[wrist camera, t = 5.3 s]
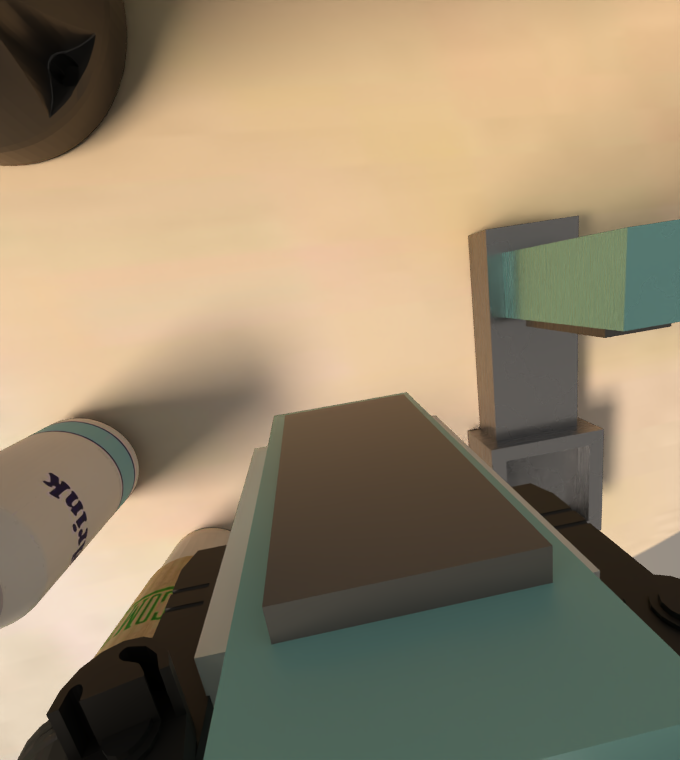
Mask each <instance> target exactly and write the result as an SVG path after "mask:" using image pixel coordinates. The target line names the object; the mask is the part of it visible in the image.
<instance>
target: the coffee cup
mask: <svg viewBox="0 0 680 760" xmlns="http://www.w3.org/2000/svg"><path fill="white" fill-rule="evenodd" d="M230 532H231V531H229V530H225V529H221V528H204V529H200V530H197V531H194V532H192V533H190V534H188V535H187V536H186V537H184V538H183V539H182V540H181V541H180V542H179V543H178V544H177V546H176V547H175V549H174V550H173V551H172V553H171V554H170V556H169V557H168V559H167V560H166V561H165V563H164V564H163V566H162V567H161V568H160V569H159V570H158V571H157V572H156V573H155V574H154V575H153V576H152V578H151V579H150V580H149V582H148V583H147V584H146V586H145V587H144V589H143V590H142V591H141V593H140V594H139V596H138V597H137V598H136V600H135V601H134V603H133V604H132V605H131V607H130V608H129V610H128V611H127V612H126V614H125V615H124V617H123V618H122V619H121V621H120V622H119V623H118V625H117V626H116V628H115V629H114V630H113V632H112V633H111V635H110V636H109V637H108V639H107V640H106V642H105V643H104V644H103V646H102V647H101V649H100V650H99V651H98V653H97V654H96V656H97V655H99V654H100V653H101V652H103V651H105V650H107V649H109V648H111V647H113V646H115V645H117V644H119V643H121V642H123V641H125V640H130V639H134V638H139V637H149V638H152V637H153V635H154V633H155V630H156V628H157V626H158V623H159V621H160V619H161V616H162V614H163V613H165V607H166V605H167V602H168V600H169V598H170V595H172V594H173V588H174V586H175V583H176V581H177V579H178V576H179V574H180V572H181V569H182V568H183V567H184V566H185V565H186V564H187V563H188V561H189V560H190V559H191V558H192V557H193V556H194V555H195V553H196V552H197V551H198V550H203V549H208V548H213V547H218V546H223V545H227V543H228V539H229V536H230ZM96 656H95V657H96ZM95 657H94V658H95ZM18 760H68V758H67V756H66V754H65V752H64V750H63V748H62V746H61V744H60V742H59V740H58V738H57V735H56V733H55V731H54V729H53V727H52V725H51V723H50V721H49V720H48V721H47V722H46V723H44V724H43V725H42V726H41V727H40V728H39V729H38V730H37V731H36V732H35V733H34V734H33V735H32V737H31V738H30V739H29V740H28V741H27V743H26V745H25V746H24V748H23V750H22V752H21V754H20V756H19V758H18Z"/></svg>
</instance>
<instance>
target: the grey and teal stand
mask: <svg viewBox="0 0 680 760" xmlns="http://www.w3.org/2000/svg"><path fill="white" fill-rule="evenodd" d="M578 227H579V216H573V217H567V218H560V219H553V220H547V221H540V222H534V223H527V224H520V225H514V226H507V227H501V228H494V229H487V230H483V231H481V232H478V233H475V234H472V235H469V236H468V240H469V256H470V272H471V288H472V304H473V320H474V336H475V352H476V368H477V384H478V400H479V416H480V429H476V430H470V431H468V442H469V448H471V449H472V450H473V451H474V452H475V453H476V454H477V455H478V456H479V457H480V458H481V459H482V460H483V461H484V462H485V463H486V464H487V465H488V466H490V467H491V468H492V469H493V470H494V471H495V472H496V473H497V474H498V475H499V476H500V477H501V478H502V479H503V480H504V481H505V482H506V483H508V484H509V485H510V486H511V487H514V486H519V485H524V484H529V483H531V484H534V485H536V486H538V487H540V488H543V489H545V490H547V491H549V492H552V493H554V494H555V495H556V496H557V497H559V498H560V499H561V500H562V501H563V502H565V503H566V504H567V505H568V506H570V507H571V509H572V511H574V510H575V511H576V512H577V513H578V514H580V515H581V516H582V517H583V518H584V519H586V522H587V523H591V524H592V525H593V526H594V527H596V528H597V529H598V530H601V518H602V480H603V441H604V429H602V428H600V427H598V426H596V425H593V424H591V423H589V422H587V421H584V420H582V419H580V418H578V417H577V372H578V334H582V335H589V336H596V337H603V338H607V337H612V336H618V335H624V334H630V333H636V332H641V331H647V330H653V329H659V328H664V327H670V326H671V323H675V322H680V219H679V220H673V221H666V222H660V223H653V224H647V225H640V226H634V227H627V228H623V229H618V230H613V231H608V232H603V233H598V234H593V235H588V236H583V237H578Z"/></svg>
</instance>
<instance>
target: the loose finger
mask: <svg viewBox="0 0 680 760" xmlns="http://www.w3.org/2000/svg"><path fill="white" fill-rule="evenodd" d="M203 760H680V656H679V655H678V654H677V653H676V652H675V651H674V650H673V649H672V648H671V647H670V646H668V645H667V644H666V643H665V642H664V641H663V640H662V639H661V638H660V637H659V636H658V635H657V634H656V633H655V632H654V631H653V630H652V629H651V628H650V627H649V626H648V625H647V624H646V623H645V622H644V621H643V620H642V619H641V618H640V617H638V616H637V615H636V614H635V613H634V612H633V611H632V610H631V609H630V608H629V607H628V606H627V605H626V604H625V603H624V602H623V601H622V600H621V599H620V598H619V597H618V596H617V595H616V594H615V593H614V592H613V591H612V590H611V589H610V588H608V587H607V586H606V585H605V584H604V583H603V582H602V581H601V580H600V579H599V578H598V577H597V576H596V575H595V574H594V573H593V572H592V571H591V570H590V569H589V568H588V567H587V566H586V565H585V564H584V563H583V562H582V561H581V560H580V559H578V558H577V557H576V556H575V555H574V554H573V553H572V552H571V551H570V550H569V549H568V548H567V547H566V546H565V545H564V544H563V543H562V542H561V541H560V540H559V539H558V538H557V537H556V536H555V535H554V534H553V533H552V532H551V531H550V530H548V529H547V528H546V527H545V526H544V525H543V524H542V523H541V522H540V521H539V520H538V519H537V518H536V517H535V516H534V515H533V514H532V513H531V512H530V511H529V510H528V509H527V508H526V507H525V506H524V505H523V504H522V503H521V502H520V501H518V500H517V499H516V498H515V497H514V496H513V495H512V494H511V493H510V492H509V491H508V490H507V489H506V488H505V487H504V486H503V485H502V484H501V483H500V482H499V481H498V480H497V479H496V478H495V477H494V476H493V475H492V474H491V473H490V472H488V471H487V470H486V469H485V468H484V467H483V466H482V465H481V464H480V463H479V462H478V461H477V460H476V459H475V458H474V457H473V456H472V455H471V454H470V453H469V452H468V451H467V450H466V449H465V448H464V447H463V446H462V445H461V444H460V443H458V442H457V441H456V440H455V439H454V438H453V437H452V436H451V435H450V434H449V433H448V432H447V431H446V430H445V429H444V428H443V427H442V426H441V425H440V424H439V423H438V422H437V421H436V420H435V419H434V418H433V417H432V416H431V415H430V414H428V413H427V412H426V411H425V410H424V409H423V408H422V407H421V406H420V405H419V404H418V403H417V402H416V401H415V400H414V399H413V398H412V397H411V396H410V395H409V394H408V393H407V392H406V393H400V394H395V395H389V396H384V397H378V398H372V399H367V400H361V401H356V402H350V403H344V404H339V405H333V406H328V407H322V408H316V409H311V410H305V411H300V412H294V413H288V414H283V415H277V416H274V419H273V424H272V428H271V433H270V438H269V443H268V448H267V453H266V458H265V462H264V467H263V472H262V477H261V482H260V487H259V492H258V496H257V501H256V506H255V511H254V516H253V521H252V525H251V530H250V535H249V540H248V545H247V550H246V555H245V559H244V564H243V569H242V574H241V579H240V584H239V589H238V593H237V598H236V603H235V608H234V613H233V618H232V622H231V627H230V632H229V637H228V642H227V647H226V652H225V656H224V661H223V666H222V671H221V676H220V681H219V686H218V690H217V695H216V700H215V705H214V710H213V715H212V719H211V724H210V729H209V734H208V739H207V744H206V749H205V753H204V758H203Z"/></svg>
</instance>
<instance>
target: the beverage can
mask: <svg viewBox="0 0 680 760" xmlns="http://www.w3.org/2000/svg"><path fill="white" fill-rule="evenodd" d="M138 476H139V464H138V459H137V456H136V454H135V451H134V449H133V448H132V446H131V445H130V443H129V442H128V441H127V439H126V438H125V437H124V436H123V435H122V434H120V433H119V432H118V431H117V430H115V429H114V428H112V427H110V426H108V425H106V424H104V423H101V422H99V421H95V420H91V419H83V418H73V419H66V420H62V421H58V422H56V423H54V424H51V425H50V426H48V427H46V428H44V429H42V430H40V431H38V432H36V433H34V434H32V435H30V436H28V437H26V438H25V439H23V440H21V441H19V442H17V443H15V444H13V445H11V446H9V447H7V448H5V449H3V450H2V451H0V629H1V628H3V627H5V626H8V625H10V624H12V623H14V622H15V621H17V620H19V619H20V618H22V617H23V616H25V615H26V614H27V613H28V612H29V611H31V610H32V609H33V608H34V607H35V606H36V605H37V603H38V602H39V601H40V600H41V599H42V597H43V596H44V595H45V594H46V593H47V592H48V590H49V589H50V588H51V587H52V586H53V585H54V583H55V582H56V581H57V580H58V579H59V578H60V576H61V575H62V574H63V573H64V572H65V571H66V569H67V568H68V567H69V566H70V565H71V564H72V562H73V561H74V560H75V559H76V558H77V557H78V555H79V554H80V553H81V552H82V551H83V550H84V548H85V547H86V546H87V545H88V544H89V543H90V541H91V540H92V539H93V538H94V537H95V536H96V534H97V533H98V532H99V531H100V530H101V529H102V527H103V526H104V525H105V524H106V523H107V522H108V520H109V519H110V518H111V517H112V516H113V515H114V513H115V512H116V511H117V510H118V509H119V508H120V506H121V505H122V504H123V503H124V502H125V500H126V499H127V498H128V497H129V496H130V495H131V493H132V492H133V490H134V488H135V486H136V484H137V481H138Z"/></svg>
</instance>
